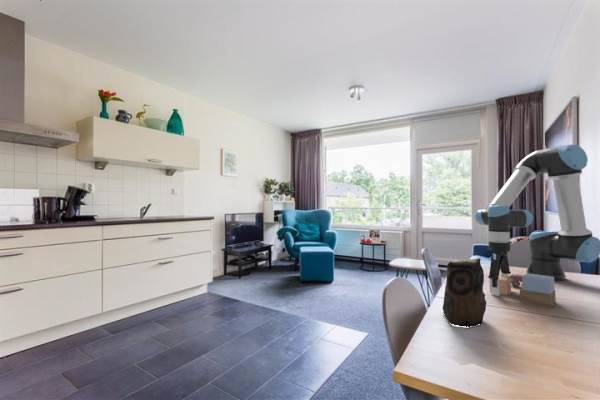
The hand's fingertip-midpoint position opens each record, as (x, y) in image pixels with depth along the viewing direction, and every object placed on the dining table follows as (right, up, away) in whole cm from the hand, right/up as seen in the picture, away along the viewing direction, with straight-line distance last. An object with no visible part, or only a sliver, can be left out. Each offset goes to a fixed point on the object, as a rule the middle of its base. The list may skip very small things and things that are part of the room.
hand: (500, 291), depth 120 cm
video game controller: (+15, -1, +7) cm, 17 cm away
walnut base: (+5, 0, -13) cm, 14 cm away
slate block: (+5, +5, -13) cm, 15 cm away
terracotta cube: (0, 0, 0) cm, 0 cm away
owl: (-33, 0, -29) cm, 44 cm away
